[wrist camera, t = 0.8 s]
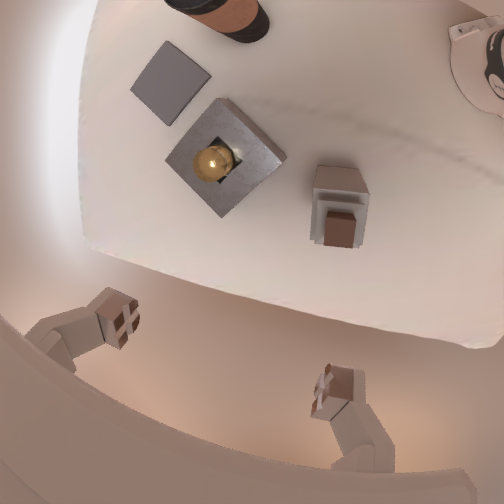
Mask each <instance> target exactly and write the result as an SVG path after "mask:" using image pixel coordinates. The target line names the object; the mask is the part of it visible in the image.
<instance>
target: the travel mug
mask: <svg viewBox="0 0 504 504" xmlns="http://www.w3.org/2000/svg"><path fill="white" fill-rule="evenodd" d="M164 1H165V2H166V3H167V4H168V5H169V6H170V7H172V8H174V9H176V10H178V11H180V12H182V13H184V14H186V15H188V16H190V17H192V18H194V19H196V20H197V21H199V22H201V23H203V24H205V25H207V26H208V27H210V28H212V29H214V30H215V31H218V32H220V33H222V34H224V35H226V36H228V37H230V38H232V39H234V40H236V41H238V42H242V43H251V42H255V41H257V40H259V39H261V38H262V37H263V36H264V35H265V34H266V33H267V31H268V29H269V24H270V23H269V18H268V16H267V14H266V13H265V11H264V10H263V8H262V7H261V5H260V4H259V2H258V1H257V0H164Z"/></svg>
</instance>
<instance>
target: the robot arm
mask: <svg viewBox="0 0 504 504" xmlns="http://www.w3.org/2000/svg"><path fill="white" fill-rule="evenodd" d="M459 30H460V31H461V33H460V32H459ZM448 32H449V36H450V40H451V53H450V62H451V68H452V72H453V75H454V78H455V80H456V83H457V85H458V86H459V88H460V90H461V91H462V93H463V94H464V96H465V97H466V98H467V99H468V100H469V101H470V102H471V103H472V104H473V105H474V106H475V107H477V108H478V109H480V110H482V111H484V112H487V113H493V114H497V115H499V116H500V117H502V118H503V119H504V19H503V18H501V17H500V16H491V17H486V18H482V19H477V20H473V21H469V22H465V23H462V24H458V25H455V26H451V27H449V29H448ZM137 307H138V301H137V300H136V299H134V298H132V297H130V296H128V295H125V294H123V293H121V292H119V291H117V290H115V289H113V288H110V287H107V288H105V289H104V290H103V291H102V292H101V293H100V294H99V295H98V296H97V297H96V298H95V299H94V300H93V301H92V302H91V303H90V304H89V305H88V306H87V307H86V308H85V307H80V308H77V309H73V310H70V311H67V312H63V313H60V314H57V315H54V316H50V317H47V318H44V319H41V320H40V321H39V322H38V323H37V324H36V325H35V326H34V327H33V328H32V329H31V330H30V331H29V332H28V333H27V334H26V335H25V336H23V335H22V334H21V333H19V331H17V330H16V329H15V328H14V327H13V326H12V325H11V324H10V323H9V322H8V321H7V320H5V319H4V318H3V317H2V316H1V315H0V504H478V492H477V488H476V486H475V485H474V483H473V482H472V480H471V479H470V477H469V476H468V474H467V473H466V472H465V471H464V470H463V469H461V468H454V469H447V470H438V471H428V472H412V473H394V472H395V445H394V444H393V442H392V440H391V439H390V437H389V435H388V434H387V432H386V431H385V429H384V428H383V426H382V424H381V423H380V421H379V420H378V418H377V416H376V415H375V413H374V412H373V410H372V408H371V407H370V405H369V404H366V400H365V399H366V397H365V396H366V394H365V372H364V370H360V369H355V368H351V367H347V366H342V365H337V364H333V363H329V364H327V366H326V367H325V373H323V374H321V375H320V377H319V379H318V380H317V383H316V386H315V391H314V396H315V397H316V400H315V401H314V403H313V404H312V411H311V417H312V418H317V419H321V420H326V421H330V425H331V427H332V429H333V432H334V434H335V436H336V439H337V441H338V443H339V446H340V448H341V451H342V453H343V456H344V457H342V458H341V459H339V460H337V461H336V462H334V463H333V464H332V465H331V470H328V469H320V468H313V467H307V466H301V465H295V464H289V463H285V462H280V461H275V460H271V459H266V458H262V457H258V456H254V455H250V454H246V453H243V452H239V451H236V450H233V449H229V448H226V447H223V446H220V445H217V444H214V443H211V442H208V441H205V440H202V439H200V438H197V437H194V436H192V435H189V434H186V433H184V432H181V431H179V430H177V429H174V428H172V427H169V426H167V425H165V424H163V423H160V422H158V421H156V420H154V419H152V418H149V417H147V416H145V415H143V414H141V413H139V412H137V411H135V410H133V409H131V408H130V407H128V406H126V405H124V404H122V403H120V402H118V401H116V400H115V399H113V398H111V397H109V396H107V395H106V394H104V393H102V392H101V391H99V390H98V389H96V388H94V387H93V386H91V385H89V384H88V383H86V382H85V381H83V380H82V379H80V378H79V377H77V376H76V375H74V373H75V371H76V366H75V365H74V362H73V361H72V359H73V358H76V357H78V356H80V355H82V354H84V353H86V352H88V351H90V350H92V349H94V348H96V347H98V346H101V345H103V344H105V343H107V344H109V345H111V346H113V347H115V348H117V349H119V350H121V348H122V347H123V346H124V344H125V343H126V342H127V341H128V335H129V334H132V333H134V331H135V330H136V329H137V327H138V324H139V320H140V315H139V312H138V311H137Z"/></svg>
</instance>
